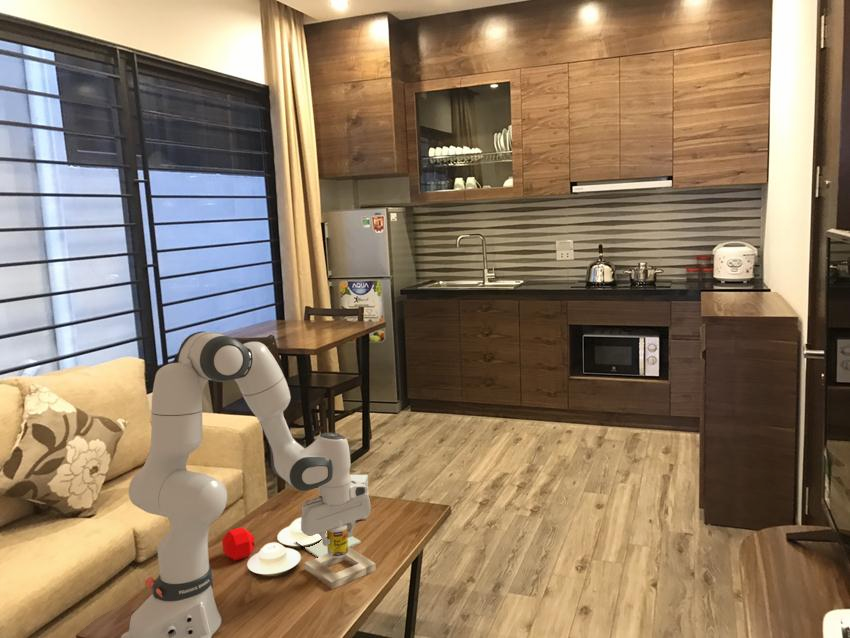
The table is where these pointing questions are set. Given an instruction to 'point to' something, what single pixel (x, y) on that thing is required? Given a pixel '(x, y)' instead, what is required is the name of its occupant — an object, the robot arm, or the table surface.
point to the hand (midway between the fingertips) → (337, 540)
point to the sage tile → (322, 550)
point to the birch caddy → (335, 580)
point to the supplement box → (361, 481)
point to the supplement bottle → (338, 541)
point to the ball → (238, 543)
